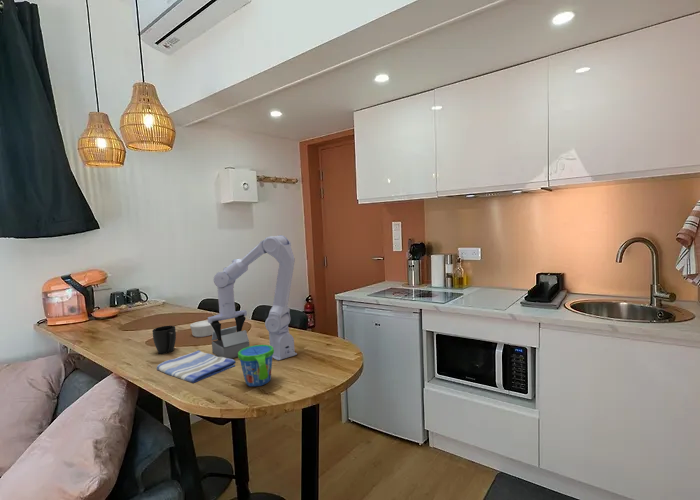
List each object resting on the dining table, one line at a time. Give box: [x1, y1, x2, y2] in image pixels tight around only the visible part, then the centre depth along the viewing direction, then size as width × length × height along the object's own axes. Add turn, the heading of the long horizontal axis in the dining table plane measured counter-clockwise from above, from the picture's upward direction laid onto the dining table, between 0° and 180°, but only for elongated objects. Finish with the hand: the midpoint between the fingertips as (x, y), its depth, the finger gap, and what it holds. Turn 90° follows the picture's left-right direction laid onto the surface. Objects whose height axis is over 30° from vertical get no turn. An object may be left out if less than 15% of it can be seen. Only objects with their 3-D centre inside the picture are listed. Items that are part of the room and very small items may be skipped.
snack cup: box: [237, 344, 274, 387], centre depth 112 cm, size 16×10×10 cm
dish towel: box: [156, 350, 236, 384], centre depth 128 cm, size 17×24×3 cm
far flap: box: [211, 325, 237, 342], centre depth 145 cm, size 4×9×1 cm
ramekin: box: [189, 319, 214, 338], centre depth 170 cm, size 11×11×5 cm
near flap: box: [221, 329, 250, 348], centre depth 137 cm, size 4×9×1 cm
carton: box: [211, 338, 251, 359], centre depth 141 cm, size 12×10×4 cm
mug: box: [152, 325, 177, 355], centre depth 146 cm, size 8×12×10 cm
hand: (229, 337), depth 141 cm, fingers open, 7 cm apart
